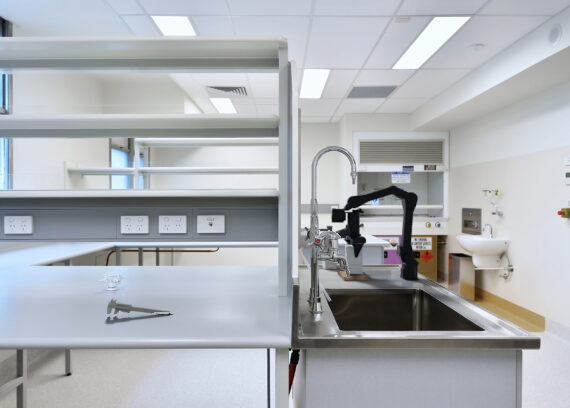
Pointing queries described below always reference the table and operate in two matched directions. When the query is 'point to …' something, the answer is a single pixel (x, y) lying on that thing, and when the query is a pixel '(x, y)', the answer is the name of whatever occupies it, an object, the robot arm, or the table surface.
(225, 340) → the table surface
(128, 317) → the table surface
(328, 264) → the soap dispenser
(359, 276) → the walnut coaster
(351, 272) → the supplement box
